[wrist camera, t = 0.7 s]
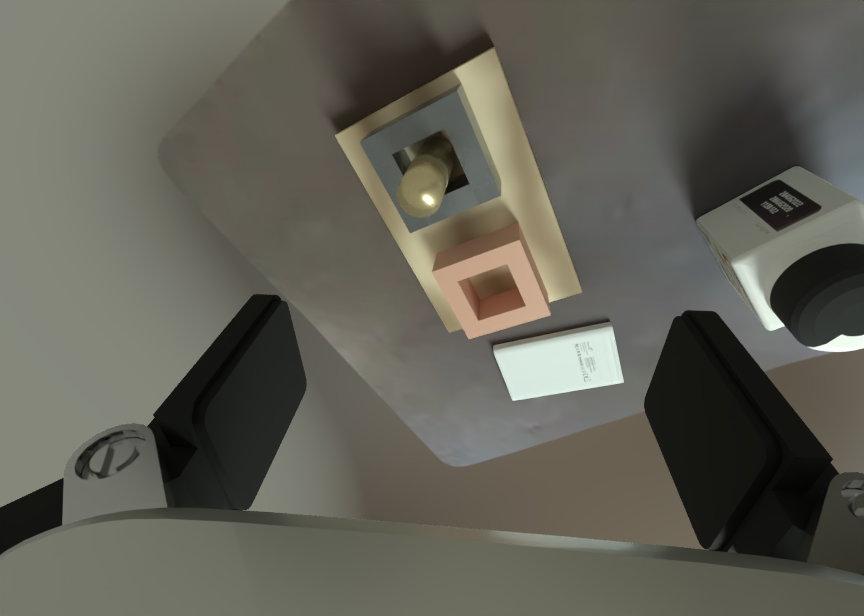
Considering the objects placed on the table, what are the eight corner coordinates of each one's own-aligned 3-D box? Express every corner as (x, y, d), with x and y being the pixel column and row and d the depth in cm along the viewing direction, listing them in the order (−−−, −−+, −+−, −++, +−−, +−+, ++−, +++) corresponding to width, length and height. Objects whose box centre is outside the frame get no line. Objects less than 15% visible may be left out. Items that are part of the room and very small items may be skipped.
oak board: (494, 46, 31) (494, 47, 30) (580, 283, 42) (582, 292, 40) (340, 131, 36) (334, 135, 35) (450, 324, 47) (449, 332, 46)
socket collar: (518, 221, 37) (519, 239, 34) (547, 293, 41) (551, 315, 38) (436, 253, 40) (431, 272, 37) (471, 317, 44) (468, 339, 41)
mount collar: (461, 82, 32) (457, 90, 29) (501, 180, 35) (500, 195, 33) (371, 130, 35) (359, 142, 32) (417, 216, 38) (410, 233, 36)
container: (693, 218, 37) (767, 305, 26) (797, 162, 33) (932, 236, 23) (728, 282, 39) (808, 382, 29) (827, 236, 36) (960, 332, 25)
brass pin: (445, 130, 34) (429, 165, 27) (461, 165, 35) (449, 207, 28) (412, 146, 35) (388, 184, 28) (429, 179, 36) (409, 224, 29)
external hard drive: (493, 341, 48) (609, 318, 44) (512, 392, 52) (621, 374, 48) (492, 351, 47) (613, 327, 43) (512, 402, 51) (624, 385, 47)
